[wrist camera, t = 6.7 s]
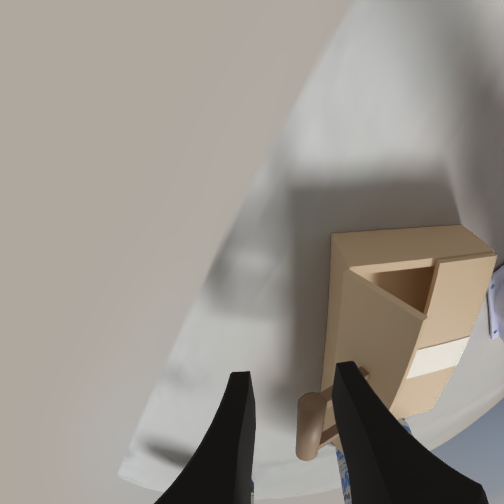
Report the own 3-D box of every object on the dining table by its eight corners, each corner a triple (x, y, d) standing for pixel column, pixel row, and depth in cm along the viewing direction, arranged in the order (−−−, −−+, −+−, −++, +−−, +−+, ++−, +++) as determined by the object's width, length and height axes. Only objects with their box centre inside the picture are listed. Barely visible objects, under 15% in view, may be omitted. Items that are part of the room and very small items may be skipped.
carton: (461, 224, 17) (498, 254, 13) (416, 376, 24) (431, 410, 20) (331, 233, 18) (352, 272, 14) (319, 394, 25) (327, 434, 21)
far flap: (326, 430, 21) (278, 457, 19) (349, 269, 14) (267, 305, 12) (361, 466, 17) (312, 499, 16) (428, 316, 10) (346, 378, 8)
